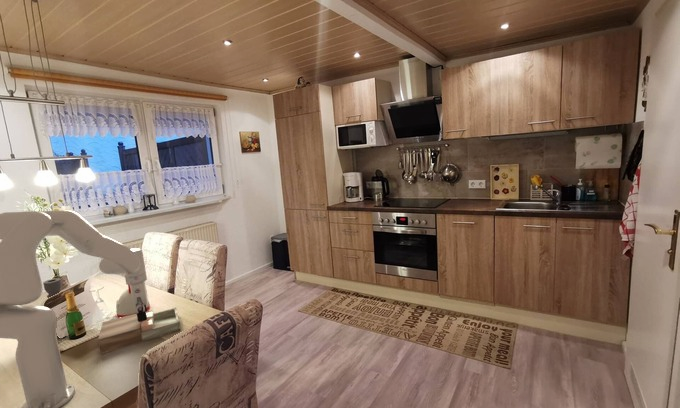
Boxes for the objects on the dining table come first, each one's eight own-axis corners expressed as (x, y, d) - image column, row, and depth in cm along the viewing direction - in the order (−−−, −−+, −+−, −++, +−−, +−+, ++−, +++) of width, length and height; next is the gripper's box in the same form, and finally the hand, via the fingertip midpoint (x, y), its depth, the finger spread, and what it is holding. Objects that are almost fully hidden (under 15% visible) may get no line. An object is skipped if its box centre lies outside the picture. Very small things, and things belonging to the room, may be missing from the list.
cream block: (143, 329, 141) (154, 326, 143) (142, 318, 140) (152, 315, 142) (144, 324, 145) (154, 321, 147) (142, 313, 144) (152, 311, 146)
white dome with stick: (149, 302, 170) (144, 275, 167) (150, 312, 158) (146, 283, 156) (117, 310, 162) (112, 282, 160) (116, 321, 151) (111, 291, 149)
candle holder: (50, 340, 138) (38, 284, 134) (59, 332, 144) (47, 279, 140) (68, 337, 139) (56, 282, 135) (75, 329, 145) (64, 277, 141)
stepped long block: (180, 330, 140) (178, 317, 139) (100, 353, 126) (97, 339, 125) (177, 315, 153) (175, 303, 152) (105, 335, 139) (102, 322, 138)
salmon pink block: (142, 338, 133) (154, 335, 135) (141, 327, 133) (152, 324, 135) (143, 332, 138) (153, 329, 140) (141, 321, 137) (152, 319, 139)
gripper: (146, 282, 130) (153, 321, 133) (146, 270, 145) (152, 305, 148) (124, 287, 127) (131, 327, 129) (126, 274, 141) (132, 310, 144)
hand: (142, 316), depth 139 cm, fingers open, 9 cm apart
